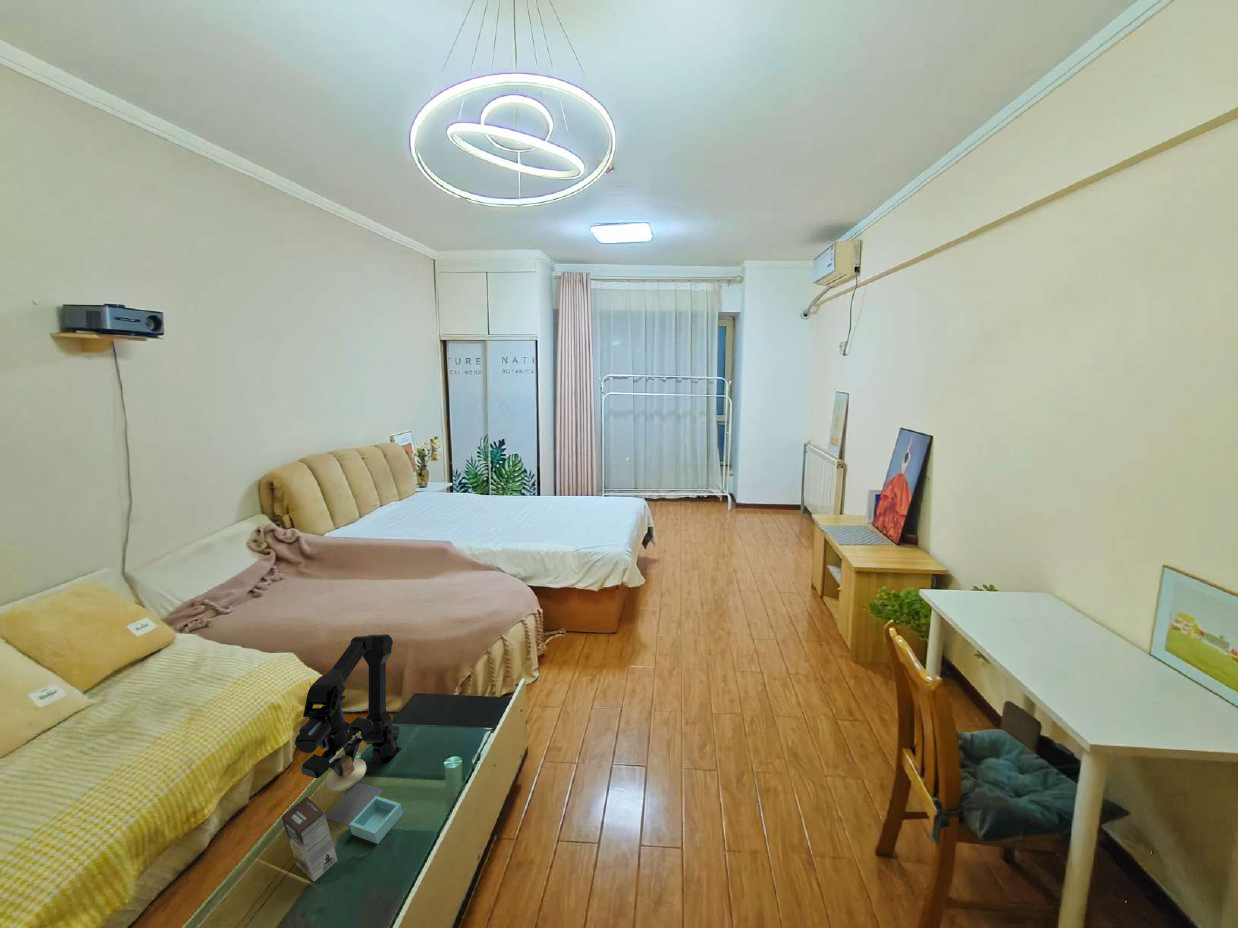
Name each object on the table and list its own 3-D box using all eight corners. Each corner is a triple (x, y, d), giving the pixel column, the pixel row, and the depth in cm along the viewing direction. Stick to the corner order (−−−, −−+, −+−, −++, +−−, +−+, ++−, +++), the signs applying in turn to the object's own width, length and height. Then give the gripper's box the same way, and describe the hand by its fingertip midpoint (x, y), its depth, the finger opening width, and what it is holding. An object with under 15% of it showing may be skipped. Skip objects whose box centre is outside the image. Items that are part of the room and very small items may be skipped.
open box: (378, 806, 145) (376, 795, 144) (403, 815, 142) (400, 803, 141) (352, 835, 137) (349, 824, 136) (378, 845, 134) (374, 833, 133)
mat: (359, 783, 154) (358, 781, 153) (384, 791, 150) (384, 789, 150) (324, 818, 143) (323, 816, 143) (350, 828, 139) (349, 826, 139)
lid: (348, 757, 150) (344, 742, 149) (374, 765, 146) (370, 749, 145) (318, 785, 141) (313, 769, 140) (344, 794, 137) (340, 778, 136)
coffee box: (295, 866, 130) (279, 815, 126) (320, 844, 135) (306, 795, 131) (314, 884, 125) (298, 832, 121) (339, 861, 130) (325, 810, 126)
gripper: (340, 695, 151) (352, 740, 155) (280, 742, 134) (294, 791, 138) (369, 702, 147) (379, 748, 151) (310, 752, 130) (324, 801, 134)
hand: (345, 770), depth 143 cm, fingers closed on lid, 3 cm apart
